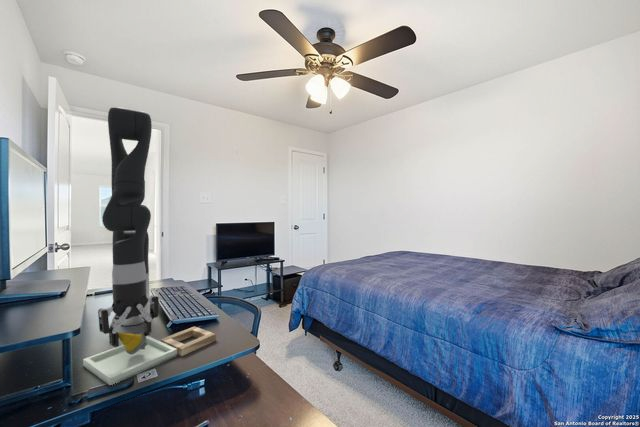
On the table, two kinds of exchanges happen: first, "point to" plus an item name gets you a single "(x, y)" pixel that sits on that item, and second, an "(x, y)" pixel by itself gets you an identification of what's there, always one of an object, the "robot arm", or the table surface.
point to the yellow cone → (133, 342)
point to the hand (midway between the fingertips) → (131, 340)
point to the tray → (128, 361)
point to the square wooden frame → (184, 349)
